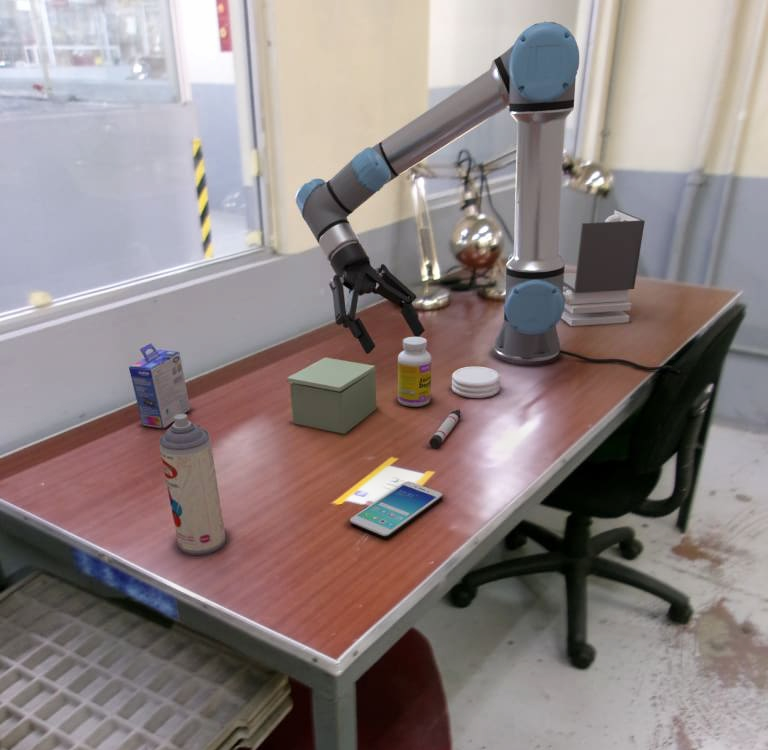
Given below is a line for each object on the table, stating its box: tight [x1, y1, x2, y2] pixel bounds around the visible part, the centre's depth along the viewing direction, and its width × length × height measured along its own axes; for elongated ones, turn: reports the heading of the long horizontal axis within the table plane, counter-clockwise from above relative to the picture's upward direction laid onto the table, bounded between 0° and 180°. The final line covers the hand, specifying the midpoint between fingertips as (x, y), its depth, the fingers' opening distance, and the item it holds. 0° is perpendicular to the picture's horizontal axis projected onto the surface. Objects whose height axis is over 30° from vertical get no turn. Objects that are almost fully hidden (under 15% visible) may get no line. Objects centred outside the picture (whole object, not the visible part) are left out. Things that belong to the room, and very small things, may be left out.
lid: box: [286, 356, 376, 392], centre depth 142 cm, size 14×11×1 cm
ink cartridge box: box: [128, 343, 191, 429], centre depth 144 cm, size 10×6×14 cm, turn 161°
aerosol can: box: [159, 413, 227, 556], centre depth 104 cm, size 7×7×20 cm
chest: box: [289, 369, 377, 435], centre depth 144 cm, size 13×11×8 cm
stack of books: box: [560, 209, 645, 327], centre depth 193 cm, size 16×19×25 cm
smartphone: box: [349, 480, 443, 540], centre depth 115 cm, size 8×1×15 cm
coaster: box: [451, 365, 501, 399], centre depth 156 cm, size 10×10×4 cm
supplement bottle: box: [397, 336, 432, 408], centre depth 149 cm, size 7×7×13 cm
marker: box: [429, 408, 461, 449], centre depth 139 cm, size 15×2×2 cm, turn 158°
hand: (396, 342), depth 149 cm, fingers open, 13 cm apart
